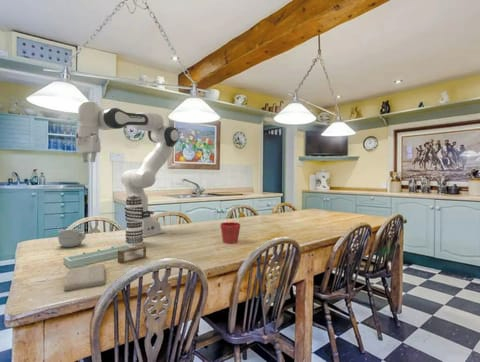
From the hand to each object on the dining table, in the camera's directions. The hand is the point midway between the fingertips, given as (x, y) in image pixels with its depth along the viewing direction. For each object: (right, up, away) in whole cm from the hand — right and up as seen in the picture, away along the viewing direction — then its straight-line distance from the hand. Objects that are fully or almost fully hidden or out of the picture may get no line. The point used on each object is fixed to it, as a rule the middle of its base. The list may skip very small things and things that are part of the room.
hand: (89, 162), depth 136 cm
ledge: (+15, -43, -17) cm, 48 cm away
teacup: (-9, -42, +3) cm, 43 cm away
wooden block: (+29, -43, -19) cm, 55 cm away
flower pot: (+69, -42, +12) cm, 82 cm away
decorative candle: (+19, -42, +8) cm, 47 cm away
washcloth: (+21, -44, -40) cm, 63 cm away
